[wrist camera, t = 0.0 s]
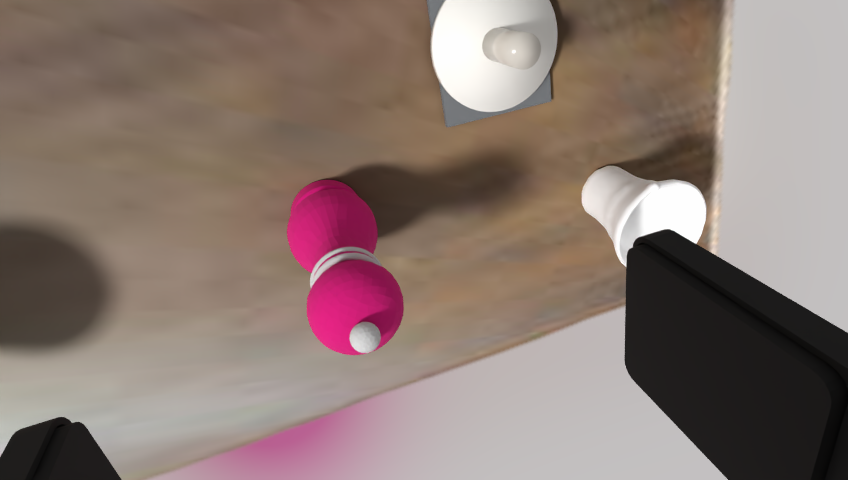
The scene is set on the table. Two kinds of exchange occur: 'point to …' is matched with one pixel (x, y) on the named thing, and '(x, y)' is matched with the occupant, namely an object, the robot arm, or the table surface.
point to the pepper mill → (343, 269)
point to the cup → (642, 207)
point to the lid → (493, 50)
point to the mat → (462, 114)
